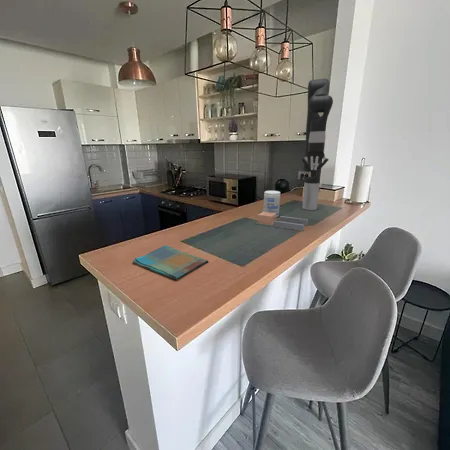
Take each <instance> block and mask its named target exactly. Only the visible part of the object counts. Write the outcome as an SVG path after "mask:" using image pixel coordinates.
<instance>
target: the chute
mask: <svg viewBox="0 0 450 450" xmlns="http://www.w3.org/2000/svg"><path fill="white" fill-rule="evenodd" d="M279 220H280V221H274V224H273V227H274V228H280V229H285V228H286V230H292V229H293V231H294V230H295V231H300V232H304V230H305V226H308V225H309V219H307V218H301V217H300V218H299V217H294V216H293V217H292V216H284V215H279Z"/></svg>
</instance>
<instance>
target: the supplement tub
mask: <svg viewBox="0 0 450 450" xmlns="http://www.w3.org/2000/svg"><path fill="white" fill-rule="evenodd" d="M280 205H281V191H279V190H265V191H264V194H263V207H262V209H263V210H262V212H269V213H276V218H278V217H280Z"/></svg>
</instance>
